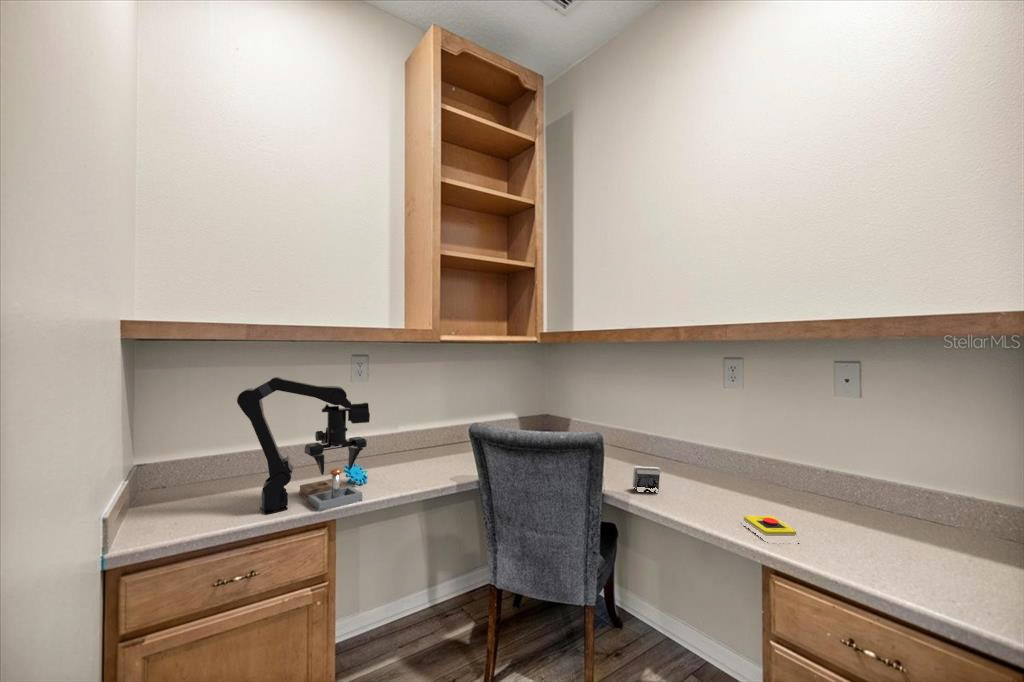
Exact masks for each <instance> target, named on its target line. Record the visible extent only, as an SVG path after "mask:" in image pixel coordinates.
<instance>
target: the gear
mask: <svg viewBox="0 0 1024 682" xmlns="http://www.w3.org/2000/svg"><path fill="white" fill-rule="evenodd" d="M358 465H359V464H358V463H357V462H354V464H353V466H352V468H351V469H349V465H348V464H346V465H345V466H344V468H345V469H344V471H343V472H344V473H345V477H346V478H349V479H348V480H347V484H350V483H353V482H354V481H355V482H354V485H355V486H358V485H360V486H363V484H364V485H365V484H366V483H367V482H368V479H369V475H367V473H368V471H369V470H368V469H365V470H363V469H364V467H363V466H361V465H360V466H359V467H358Z"/></svg>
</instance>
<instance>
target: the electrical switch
mask: <svg viewBox="0 0 1024 682" xmlns="http://www.w3.org/2000/svg"><path fill="white" fill-rule="evenodd" d="M660 475H661V468H660V467H657V466H638V465H637V466H636V465H635V466H634V467H633V474H632V488H633V487H635V488H636V490H637V487H645V488H650V489H651V488H652V489H653V488H655V487H656V488H657V489H658V491H659V490H660ZM636 490H635V491H636Z"/></svg>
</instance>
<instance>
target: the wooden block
mask: <svg viewBox="0 0 1024 682" xmlns="http://www.w3.org/2000/svg"><path fill="white" fill-rule="evenodd" d="M339 488H344V483H343V482H341V481H340V484H339ZM330 490H332V478H329V479H325V480H318V481H314V482H310V483H305V484H300V485H299V495H301V496H302V495H303V496H304V497H303V496H302V497H303V498H305V499H306V498H307V499H306V500H308V495H312V494H316V493H321V492H325V491H330Z"/></svg>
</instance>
